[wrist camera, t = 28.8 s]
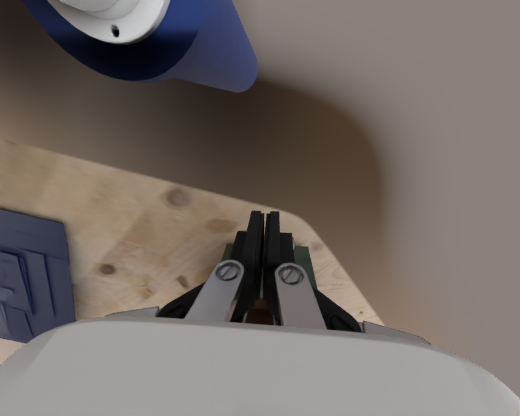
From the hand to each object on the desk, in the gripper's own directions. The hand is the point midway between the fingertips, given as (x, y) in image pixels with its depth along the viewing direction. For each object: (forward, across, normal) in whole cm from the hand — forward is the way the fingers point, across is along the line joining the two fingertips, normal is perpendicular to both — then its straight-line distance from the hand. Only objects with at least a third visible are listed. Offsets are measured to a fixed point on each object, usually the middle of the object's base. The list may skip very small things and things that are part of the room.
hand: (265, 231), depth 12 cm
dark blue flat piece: (+10, +44, +18) cm, 48 cm away
